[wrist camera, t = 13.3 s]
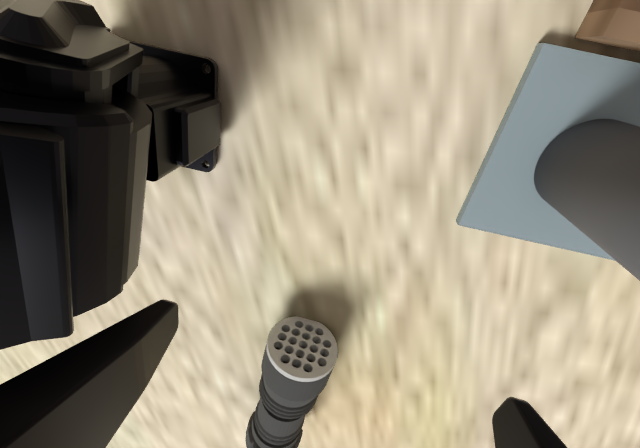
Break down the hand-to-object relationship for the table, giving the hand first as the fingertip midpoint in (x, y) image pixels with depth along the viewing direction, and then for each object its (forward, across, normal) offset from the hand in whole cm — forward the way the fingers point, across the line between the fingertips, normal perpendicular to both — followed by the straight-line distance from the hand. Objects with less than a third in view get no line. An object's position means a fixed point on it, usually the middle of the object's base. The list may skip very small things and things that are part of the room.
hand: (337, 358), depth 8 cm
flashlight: (+13, +1, +20) cm, 24 cm away
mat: (+13, -12, -4) cm, 18 cm away
